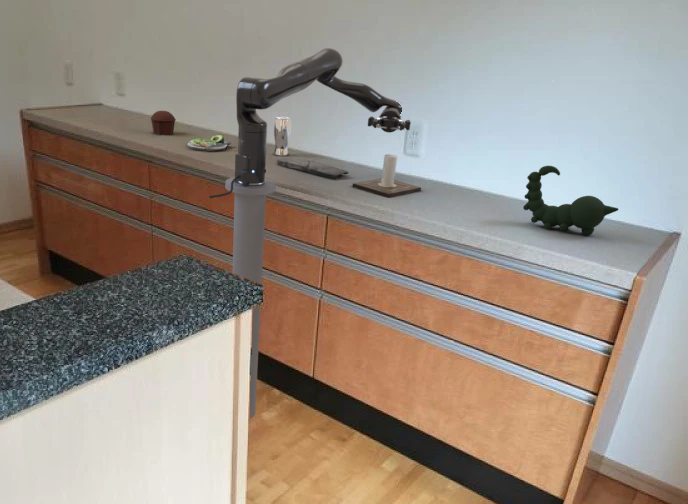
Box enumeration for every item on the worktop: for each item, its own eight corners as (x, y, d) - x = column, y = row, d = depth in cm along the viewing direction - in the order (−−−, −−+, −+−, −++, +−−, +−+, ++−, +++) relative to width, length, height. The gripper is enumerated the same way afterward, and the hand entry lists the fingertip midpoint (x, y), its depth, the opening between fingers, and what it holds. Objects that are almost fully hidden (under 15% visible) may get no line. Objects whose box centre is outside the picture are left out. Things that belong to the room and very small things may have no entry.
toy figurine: (518, 230, 180) (611, 242, 168) (526, 166, 173) (624, 173, 161) (524, 223, 188) (614, 234, 175) (532, 161, 181) (627, 168, 168)
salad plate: (226, 154, 247) (226, 142, 245) (182, 150, 248) (182, 139, 246) (232, 145, 265) (233, 134, 263) (192, 142, 265) (192, 131, 264)
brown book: (388, 197, 200) (388, 193, 199) (352, 186, 210) (352, 182, 210) (420, 190, 211) (421, 186, 211) (385, 180, 222) (385, 177, 221)
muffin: (146, 132, 282) (145, 109, 278) (166, 130, 289) (166, 108, 285) (159, 136, 274) (159, 113, 270) (180, 134, 281) (180, 112, 277)
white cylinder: (388, 186, 208) (392, 157, 203) (378, 184, 210) (381, 155, 206) (396, 185, 210) (400, 156, 206) (386, 182, 213) (390, 154, 209)
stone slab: (334, 174, 216) (275, 155, 234) (332, 182, 218) (275, 163, 236) (352, 171, 223) (294, 153, 241) (350, 179, 225) (293, 161, 243)
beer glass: (291, 156, 252) (293, 119, 246) (275, 156, 250) (277, 118, 244) (285, 152, 258) (288, 116, 252) (270, 152, 256) (272, 116, 249)
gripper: (371, 107, 214) (368, 112, 200) (411, 110, 212) (411, 116, 198) (368, 128, 217) (365, 135, 203) (408, 132, 215) (408, 139, 201)
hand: (388, 126), depth 200 cm, fingers open, 8 cm apart
